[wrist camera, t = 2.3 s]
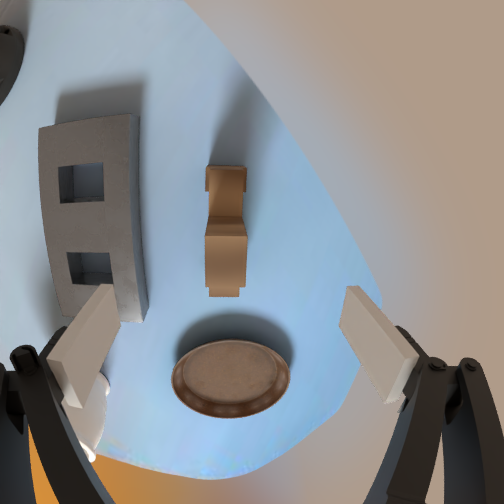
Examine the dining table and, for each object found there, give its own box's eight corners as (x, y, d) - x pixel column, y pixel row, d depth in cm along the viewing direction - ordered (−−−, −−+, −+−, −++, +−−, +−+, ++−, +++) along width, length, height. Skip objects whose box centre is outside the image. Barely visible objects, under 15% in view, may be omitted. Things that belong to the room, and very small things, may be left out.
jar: (90, 351, 38) (57, 422, 24) (127, 394, 42) (109, 463, 28) (53, 364, 38) (20, 424, 24) (88, 402, 42) (66, 462, 28)
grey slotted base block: (54, 128, 26) (38, 128, 23) (139, 116, 28) (130, 113, 24) (73, 302, 35) (62, 315, 31) (148, 307, 36) (142, 322, 33)
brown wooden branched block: (207, 165, 31) (198, 175, 18) (243, 165, 31) (257, 177, 19) (207, 268, 35) (200, 332, 23) (239, 268, 35) (249, 331, 23)
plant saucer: (307, 372, 43) (311, 385, 40) (225, 418, 46) (226, 430, 43) (237, 305, 37) (239, 317, 35) (150, 366, 40) (147, 379, 37)
